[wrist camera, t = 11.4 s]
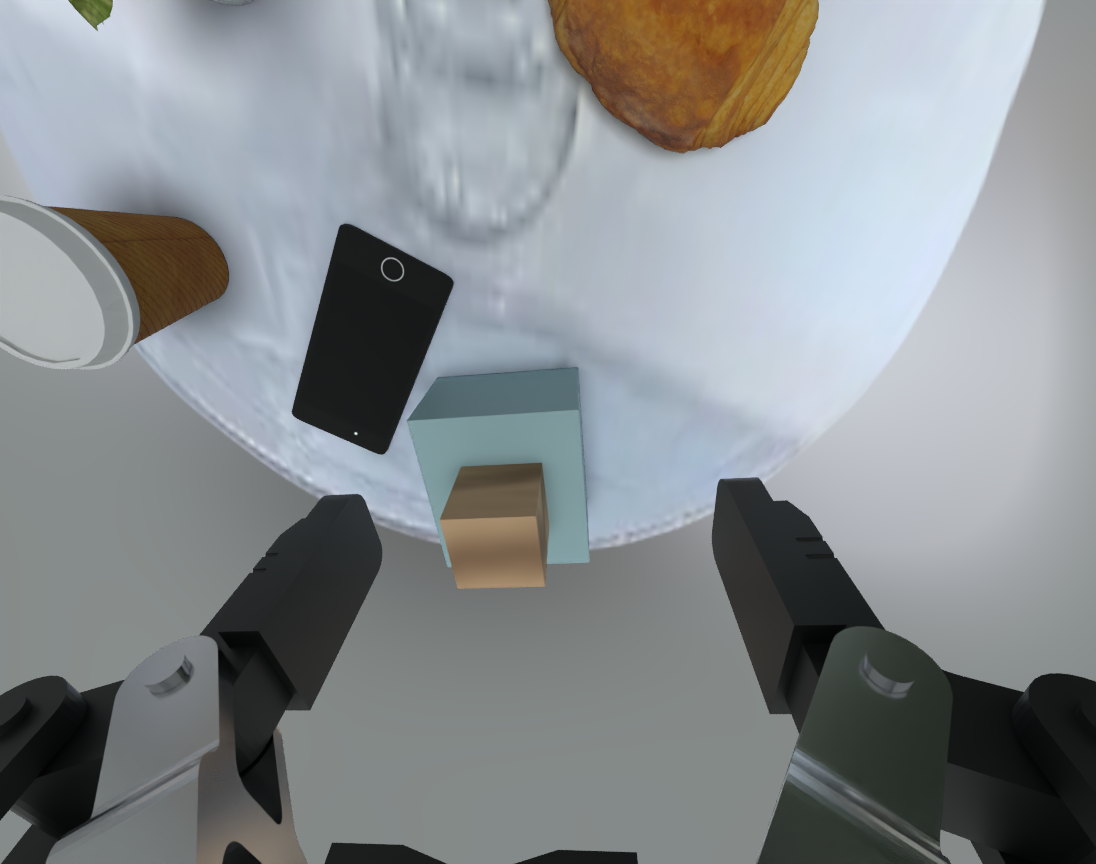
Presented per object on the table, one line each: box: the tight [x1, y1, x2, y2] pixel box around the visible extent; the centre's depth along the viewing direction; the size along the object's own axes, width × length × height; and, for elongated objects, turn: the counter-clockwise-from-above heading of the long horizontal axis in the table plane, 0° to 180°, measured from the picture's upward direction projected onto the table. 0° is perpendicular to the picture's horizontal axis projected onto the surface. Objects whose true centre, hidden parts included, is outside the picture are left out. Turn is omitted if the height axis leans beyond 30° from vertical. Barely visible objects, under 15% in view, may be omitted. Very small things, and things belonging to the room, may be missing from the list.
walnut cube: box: [440, 463, 549, 588], centre depth 32 cm, size 6×6×6 cm
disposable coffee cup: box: [0, 195, 228, 370], centre depth 30 cm, size 10×10×12 cm
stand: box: [407, 368, 589, 567], centre depth 38 cm, size 14×12×8 cm
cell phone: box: [292, 224, 453, 454], centre depth 38 cm, size 9×18×1 cm, turn 153°
